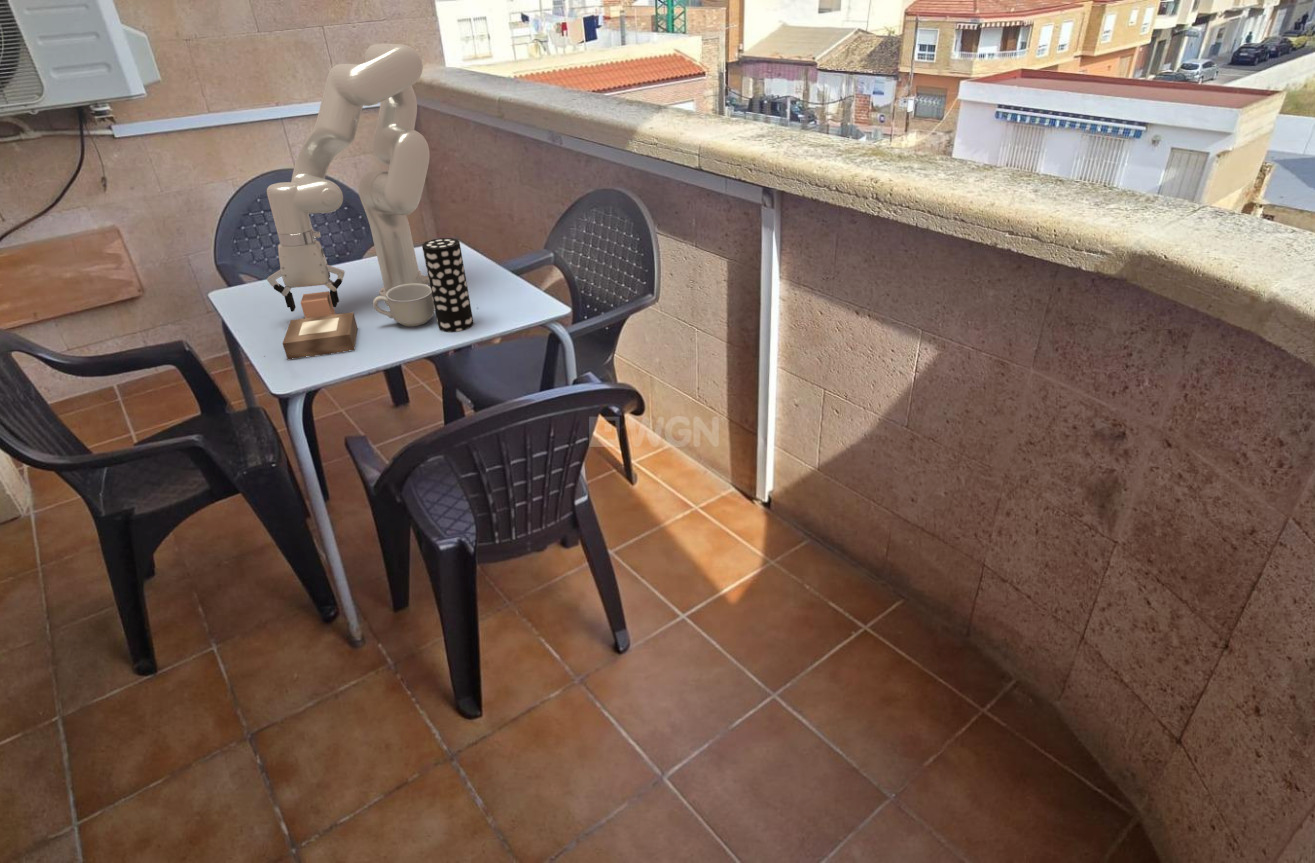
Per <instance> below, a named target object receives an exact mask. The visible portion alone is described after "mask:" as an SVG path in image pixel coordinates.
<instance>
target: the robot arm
mask: <svg viewBox="0 0 1315 863" xmlns="http://www.w3.org/2000/svg"><path fill="white" fill-rule="evenodd" d="M423 66H424V65H423V61H422V58H421V56H420V54H419V53H418V51H416V50H415V49H414V48H413V47H411V46H409V45H406V44H401V43H386V42H385V43H383V42H382V43H374V44H372V45H370V46H369V47H368V48H367V49H366V51H365V54H364V62H362V63H359V64H358V63H357V64H356V63H338V64H335V65H334V66H332V67H331V69H330V70H329V72H328V75H327V76H326V77H327V78H326V82H325V85H324V89H323V94H322V98H321V102H320V105H319V110H318V114H317V117H316V122H315V124H314V127H313V130H311V132H310V134H308V137H307V138H306V140H305V142H304V144H303V145H302V147H300V148H301V149H300V150H299V152H298V154H297V157H296V160H295V164H294V168H293V172H292V174H291V175H292V176H291V181H288V182H287V181H286V182H285V181H283V182H277V183H273V184H270V185H269V186H268V187H267V188H266V195H267V199H268V202H269V207H270V210H271V213H272V214H271V215H272V219H273V221H274V225H275V228H276V232H277V237H278V240H279V244H278V245H277V248H278V249H277V251H278V260H279V268H280V269H278V270H277V271H276V272H274V273H273V274H271V275H269V276H268V277H267V279H266V281H267V283H268V284H269V285H271V287H272V288H273V289H274V290H275V291H277V292H278V293H279V294H281V295H282V296H283V297H284V300H285V303H286V306H287V308H289V310H290V312H295V310H296V307H297V306H296V303H295V300H294V295H293V292H291V289H292V288H305V287H306V288H307V287H317V286H325V287H326V288H328V289H329V293H330V296H331V301H332V305H333V307H334V308H337V306H338V303H340V299H339V295H338V290H337V289H338V288H339V287H340V286H341V284H342V282H343V280H344V277H345V273H346V271H345V270H344V269H341V268H338V267H335V266H332V265H329V264H328V262H327V261H328V260H327V258H326V256H325V252H324V250H323V246H322V245H321V242H320V241H319V240H317V239H318V238H321V232H320V231H316V230H314V228H313V227H312V222H311V217H310V214H330V213H332V212H335V211H336V210H339V209H340V208H341V206H342V204H343V201H344V195H343V194H344V193H343V191H342V189H341V188H340V186H339V185H337V184H336V183H335V182H333V181H331V180H329V179H326V177H327V176H326V175H327V172H328V169H329V167H330V166H331V164H332V162H333V160H334V159H335V157H336V156H337V155H339V154H340V153H341V152H344V151H345V150H346V149H348V148H349V147H350V146H351V145H352V144H353V143H354V141H355V139H356V134H357V132H358V131H357V129H358V126H359V123H360V119H361V114H362V111H363V107H370V106H374V105H377V104H379V111H378V115H377V120H376V125H375V126H376V127H375V131H374V135H373V140H372V147H371V148H372V153H373V156H374V157H375V160H377V161H378V162H379V163H381V164H383V165H385V166H388V170H384V169H372V170H368V171H366V172H365V173H364V174H363V175H362V176H361V178H360V179H359V182H358V186H357V187H358V188H357V189H358V190H357V191H358V195H359V199H360V202H361V205H362V207H363V209H364V212H365V214H366V217H367V220H368V224H369V226H370V227H369V228H370V232H371V236H372V240H373V241H372V242H373V245H374V248H375V253H376V257H377V262H378V265H379V271H380V275H381V278H382V283H383V287H381V288H380V289H379V296H384V297H386V293H387V292H388V290H390V289H391V288H393V287H396V286H399V285H404V284H411V283H419V284H425V285H430V283H429V278H428V275H424V274H422V272H421V270H419V266H418V261H417V256H416V251H415V247H414V242H413V237H412V233H411V226H410V223H409V220H408V216H407V215H410V214H412V213H413V212H415V210H416V209H417V208H418V206H419V204H420V202H421V199H422V195H423V191H424V187H425V186H424V185H425V183H426V177H427V173H428V170H429V169H428V168H429V164H430V158H431V157H430V154H431V153H430V148H429V144H428V141H427V140H426V138H425V136H423V134H422V133H420V132H418V131H417V130H415V127H416V122H417V121H416V120H417V114H418V113H417V112H418V101H417V100H418V99H417V97H416V93H415V90H414V88H413V85H415V84H417V82H418V81H420V78H421V76H422V74H423V68H424V67H423ZM331 274H334V275H336V276H337V277H336V279H335V280H333V279H330V278H331ZM281 277H282V282H283V284H284V286H283V285H282V284H280V283H278V281H277V279H279V278H281Z"/></svg>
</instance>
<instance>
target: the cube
mask: <svg viewBox="0 0 1315 863" xmlns="http://www.w3.org/2000/svg"><path fill="white" fill-rule="evenodd" d="M301 297H302V298H301V300H300V305H301V309H302V312H303V315H304V318H311V317H319V316H327V315H335V314H336V311H335V307H333V305H332V301H331V296H330V290H329V291H327V290H326V291H320V292H312V293H311V292H310V293H303V294H302V296H301Z"/></svg>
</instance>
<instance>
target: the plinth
mask: <svg viewBox="0 0 1315 863" xmlns="http://www.w3.org/2000/svg"><path fill="white" fill-rule="evenodd" d="M357 327H358V324H357V320H356V316H355V313H354V311H353V312H345V313H335V315H327V316H319V317H311V318H305V317H304V318H298V319H297V318H296V319H290V321H289V324H288V326H287V329H286V333H285V335H284V339H283V340H282V346H283V349H284V352H285V355H286V356H285V357H286V358H287V360H288V359H291V360H293V359H292V358H299V357H306V356H313V357H316V356H315V355H320V356H324V355H323V354H327V355H332V354H331V353H334V354H338V353H337V352H341V353H344V352H343V351H348V352H350V351H349V350H354V351H355V349H354V347H355V348H356V342H355V341H357V335H356V334H358V328H357ZM306 358H307V357H306ZM299 359H300V358H299Z"/></svg>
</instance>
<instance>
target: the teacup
mask: <svg viewBox="0 0 1315 863" xmlns="http://www.w3.org/2000/svg"><path fill="white" fill-rule="evenodd" d="M380 301H382V302H384V303H385V304H386V306H387V307H388V309H389V311H388V310H385V309H382V308H380V307H379V306H378V302H380ZM372 307H373V309H374V310H375V311H376V312H377V313H379V314H381V315H384V316H387V317H388V318H389V319H393V320H394V321H395V322H397V323H399V324H400V325H402V326H405V327H419V326H421V325H424V324H426V323H427V322H429V321H430V320H431V318H433V316H434V315H435V308H434V303H433V298H432V293H431V288H430V285H429V284H427V285H425V284H419V283H411V284H404V285H399V286H396V287H393V288H391V289H390V290H388V292H387V293H386V297H384V296H380V295H378V296H376V297H374V298H373V301H372Z"/></svg>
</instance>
